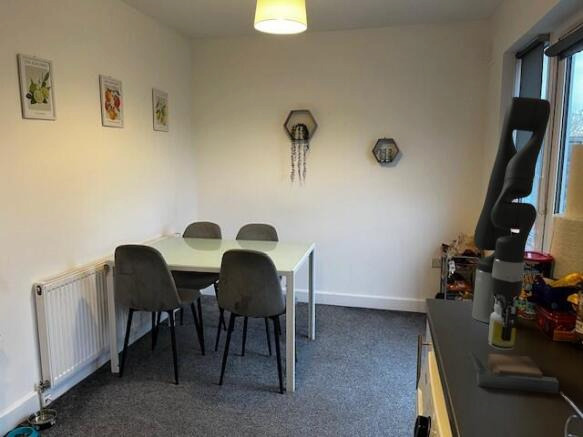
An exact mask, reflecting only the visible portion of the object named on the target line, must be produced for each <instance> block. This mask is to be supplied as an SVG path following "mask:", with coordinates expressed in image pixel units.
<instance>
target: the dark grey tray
mask: <svg viewBox="0 0 583 437" xmlns="http://www.w3.org/2000/svg"><path fill="white" fill-rule="evenodd" d="M523 356H524V357H528V356H526V355H523ZM469 358H470V360H471V362H472V364H473V367H474V368H475V370H476V379H475V380H476V381H475V382H476V384H477V386H478V387H487V388H498V389H505V390H506V389H507V390H517V391H527V392H538V393H546V394H558V392H559V391H558V390H559V386H560V385H559V383H560V381H558V379H557V377H550V376H543V377H542V376H531V375H521V374H510V373H500V372H491V371H490V370H489V371H486V370H484V368H483V366H482V365H481V363H480V361H479V359H478V357H477V355H476V354H475V352H474V351H469Z"/></svg>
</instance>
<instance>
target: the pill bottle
mask: <svg viewBox="0 0 583 437" xmlns="http://www.w3.org/2000/svg"><path fill="white" fill-rule="evenodd" d="M499 309H500V308H499V307H498V304H495V310H496V311H495V312H493V313H492V314H491V316H490V323H489V328H488V329H489V330H488V341H487V344H488V345H489V346H490V347H492V348H494V349H496V350H500V351H511V350H513V349H514V347H515V340H516V330H517V327H516V328H512V332H511V340H510V341H503V340H502V339H501V334H502V319H501V318H500V311H499ZM504 315H506V314H504ZM505 319H506V318H505ZM509 323H510V320H509Z"/></svg>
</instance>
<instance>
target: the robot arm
mask: <svg viewBox="0 0 583 437" xmlns="http://www.w3.org/2000/svg"><path fill="white" fill-rule="evenodd" d="M550 115H551V103H550V101H549V100H548V99H546V98H538V97H537V98H535V97H526V96H525V97H523V96H513V97H511V98H510V99H509V101H508V103H507V106H506V108H505V112H504V117H503V123H502V128H501V132H500V139H499V143H498V148H497V152H496V155H495V159H494V163H493V166H492V169H491V173H490V178H489V180H488V185H487V191H486V194H485V199H484V203H483V207H482V210H481V212H480V215H479V218H478V221H477V223H476V226H475V229H474V234H473V244H474V247H475V248H476V250H477V249H478V250H479V251H493V253H491V254H490V255H488V256H486V257H482V258H480V259H478V260H477V261H476V269H475V270H476V271H475V281H474V282H475V283H474V291H473V292H474V293H473V301H472V302H473V303H472V314H471V315H472V318H473V319H474V320H475V321H476V320H477V321H479V322H482V323H487V324H490V316H491V314H492V313H493V312H495V311H496V310H495V304H498V307H499V308H500V309H499V311H500V318H501V319H502V334H501V339H502V340H503V341H510V340H511V332H512V328H516V329H517V323H518V317H519V311H520V309H519V306H516V301H515V298H516V297H520V296H521V295H522V294H523V293H522V292H523V286H524V285H523V284H524V283H523V282H524V274H525V253H526V248H527V247H526V245H527V242H528V238H529V237H530V236H529V235H530V233H531V231H532V228H533V226H534V224H535V222H536V219H537V215H538V212H537V209H536V207H535V206H534V205H533V204H532V203H530V202H516V201H514V200H517V199H518V200H519V199H525V198H528V197H530V195H531V194H532V192H533V187H534V181H535V175H536V174H535V172H536V168H537V162H538V158H539V156H540V152H541V149H542V146H543V143H544V139H545V135H546V131H547V128H548V125H549V120H550ZM515 131H520V132H521V131H523V132H531V133H532V134H531V137H530V138H529V140H528V141H527V142H526V143H525V144H524V145H523V146H522V148H520V149H519V151H518V150H517V148H516V144H515V142H514V135H513V134H514V132H515ZM512 230H518V233H516V234H514V235H513V233H512ZM504 314H506V315H504ZM505 318H506V319H505ZM509 320H510V323H509Z"/></svg>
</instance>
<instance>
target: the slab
mask: <svg viewBox="0 0 583 437" xmlns="http://www.w3.org/2000/svg"><path fill="white" fill-rule="evenodd" d="M524 356H525V355H523V356H521V355H509V354H500V353H499V354H498V353H488V360H487V367H488V369H489V372H500V373H510V374H521V375H531V376H542V377H544V376H543V375H544V374H543V372H542V371H541V370H540V369H539V368H538V366H537V365H536V364H535V362H534V361H533V359H531V357H529V356H527V357H524Z"/></svg>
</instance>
